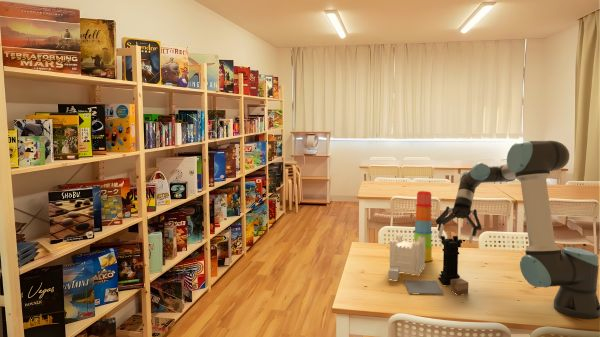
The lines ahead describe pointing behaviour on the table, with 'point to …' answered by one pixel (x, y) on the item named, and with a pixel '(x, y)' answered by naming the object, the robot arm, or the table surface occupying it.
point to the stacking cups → (424, 221)
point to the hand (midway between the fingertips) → (454, 239)
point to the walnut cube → (459, 286)
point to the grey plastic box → (394, 272)
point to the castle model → (408, 254)
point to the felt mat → (423, 287)
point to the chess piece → (450, 259)
